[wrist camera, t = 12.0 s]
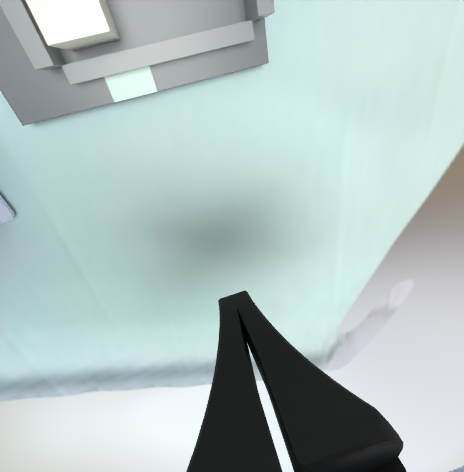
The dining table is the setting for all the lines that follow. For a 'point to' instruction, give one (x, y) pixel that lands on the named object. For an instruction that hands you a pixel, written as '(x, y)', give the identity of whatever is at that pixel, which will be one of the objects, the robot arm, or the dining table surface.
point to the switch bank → (127, 53)
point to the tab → (74, 22)
